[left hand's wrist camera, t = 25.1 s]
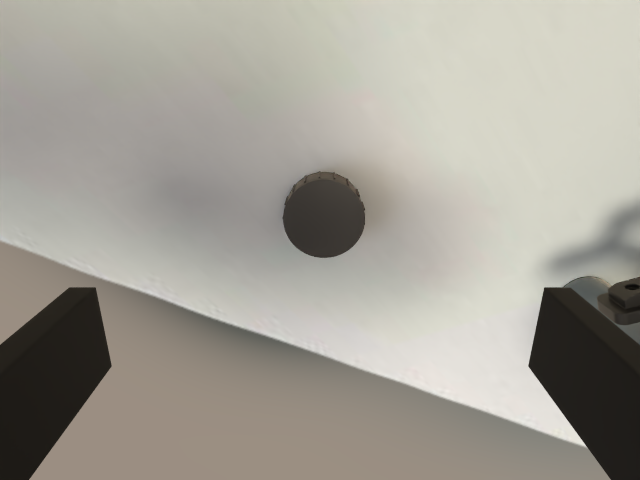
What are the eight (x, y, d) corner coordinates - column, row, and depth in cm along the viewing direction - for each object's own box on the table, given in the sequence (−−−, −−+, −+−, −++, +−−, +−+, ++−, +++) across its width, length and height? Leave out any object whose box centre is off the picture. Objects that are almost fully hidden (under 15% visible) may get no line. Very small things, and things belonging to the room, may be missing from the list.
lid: (371, 233, 29) (375, 246, 26) (299, 254, 29) (297, 268, 27) (350, 161, 27) (353, 167, 25) (274, 184, 28) (270, 193, 25)
